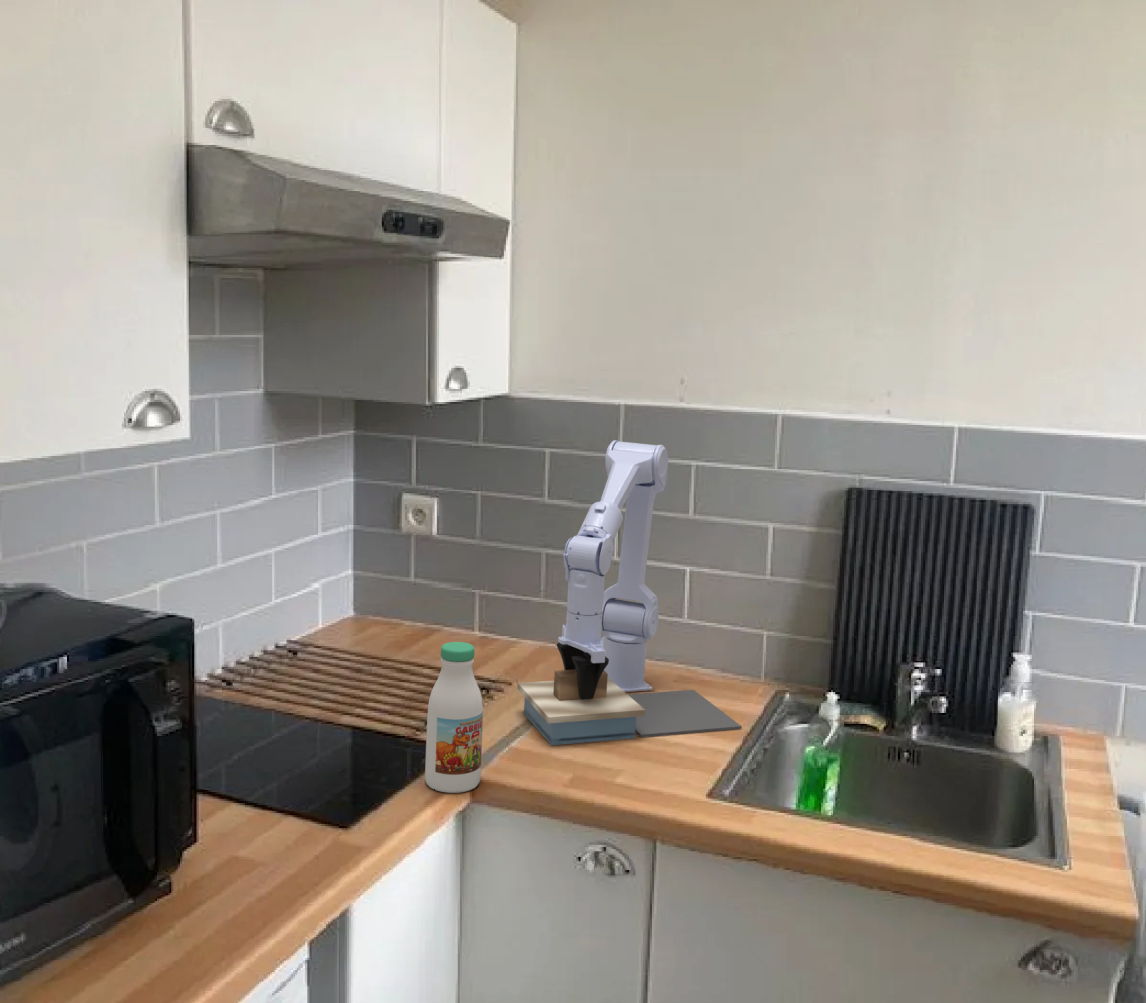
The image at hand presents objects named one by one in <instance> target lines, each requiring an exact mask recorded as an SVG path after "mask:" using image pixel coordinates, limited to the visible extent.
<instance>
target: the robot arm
mask: <svg viewBox="0 0 1146 1003" xmlns="http://www.w3.org/2000/svg"><path fill="white" fill-rule="evenodd" d="M668 454H669V453H668V451H667V449H666V447H665V446H664V445H663V444H647V443H640V442H639V443H638V442H637V443H636V442H627V441H620V440H614V439H613V440H612V441H611V442H610V444H609V445H608V447H607V449H606V453H605V460H604V464H605V470H606V476H607V480H606V482H605V485H604V489H603V491H602V495H601V498H600V501H596V502H594V503H593V504H591V505H590V508H589V509H588V511H587V514H586V515H585V518H584V520H583V522H582V524H581V527H580V528H579V530H578V532H577V534H576V535H574V536H573V537H570V538H568V540H567V542H566V543H565V548H564V551H563V552H564V553H563V567H564V569H565V570H564V571H565V581H566V582H568V583H567V598H566V599H567V602H566V619H565V621H566V622H565V624H562V627H561V628H562V629H561V630H562V631H561V636H558V637H557V639H558V640H557V641H558V642H557V643H556V647H557V650H558V651H559V655H560V657H561V660H562V664H563V670H575V669H576V672H577V678H578V692H579V697H580V699H581V700H585V699H593V697H594V694H595V691H596V688H597V685H598V682H599V679H600V676H601V674H602V672H603V671H605V672H606V673H607V674H608V678H609V679H610V680H612V681H613V682H614V683H615V684H616V685H617V686H618V687H620V688H621V689H622V690H623V691H624V692H625V693H631V692H642V691H643V692H645V691H647V692H648V691H652V690H653V687H652V686H651V685H650V684H649V683H648V682H646V680H645V673H646V672H645V671H646V659H647V647H648V646H647V645H648V643H647V641H648V640H651V639H652V638H653V637H654V636H655V635H656V632H657V628H658V624H659V598H658V596H657V595H656V594H655V593H654V592H653V591H652V589H650V588H649V587H648V586H647V585H646V584H645V580H646V572H647V564H648V556H649V549H650V548H649V546H650V545H649V544H650V538H651V530H652V529H651V527H652V519H653V512H654V511H653V510H654V504H655V503H654V502H655V499H656V494H658V493H661V492H663V491H665V486H666V485H667V477H668V468H669V456H668ZM625 502H626V505H625ZM624 505H625V514H624V517H623V513H622V511H621V510H622V509H623V506H624ZM623 520H624V523H623ZM622 523H623V532H622V541H621V550H620V559H619V567H618V577H617V582H616V583H615V584H613V585H611V586H609V587H608V588H606V589H605V580H606V579H605V577H606V574H607V573H608V571H609V570H610V568H611V565H612V564H611V563H612V558H613V552H614V548H615V547H614V541H615V539H616V537H617V534H618V531H619V530H620V527H621V526H622ZM620 599H621V600H620ZM635 601H636V602H635ZM602 633H603V636H602Z"/></svg>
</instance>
